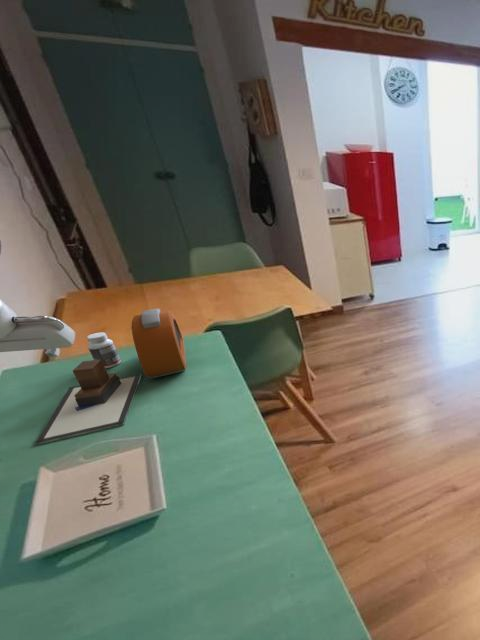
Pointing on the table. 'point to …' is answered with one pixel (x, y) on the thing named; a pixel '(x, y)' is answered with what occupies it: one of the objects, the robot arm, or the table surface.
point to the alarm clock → (158, 343)
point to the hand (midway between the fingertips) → (25, 356)
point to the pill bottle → (103, 349)
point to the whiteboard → (90, 413)
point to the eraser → (94, 383)
